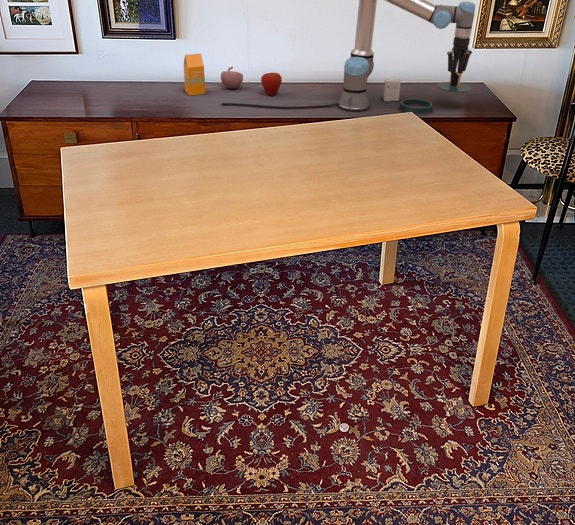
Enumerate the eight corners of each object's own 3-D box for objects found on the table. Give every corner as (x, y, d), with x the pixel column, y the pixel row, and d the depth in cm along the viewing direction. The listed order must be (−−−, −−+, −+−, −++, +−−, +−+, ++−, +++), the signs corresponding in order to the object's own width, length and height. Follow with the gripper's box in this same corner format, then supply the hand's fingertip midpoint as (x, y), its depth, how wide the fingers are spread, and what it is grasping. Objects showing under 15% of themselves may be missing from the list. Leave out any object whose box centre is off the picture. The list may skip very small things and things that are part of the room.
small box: (398, 98, 335) (400, 78, 330) (398, 102, 331) (401, 81, 325) (383, 98, 336) (384, 78, 331) (383, 101, 331) (385, 81, 326)
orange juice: (205, 93, 337) (203, 55, 327) (189, 95, 334) (187, 56, 324) (200, 89, 343) (198, 51, 333) (185, 91, 340) (182, 53, 330)
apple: (269, 90, 344) (269, 68, 338) (285, 94, 339) (286, 71, 333) (257, 95, 336) (256, 72, 330) (273, 99, 331) (273, 75, 325)
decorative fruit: (244, 85, 351) (244, 64, 345) (241, 92, 341) (240, 70, 335) (223, 84, 352) (222, 63, 346) (219, 91, 342) (218, 69, 336)
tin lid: (449, 94, 308) (452, 77, 304) (430, 85, 321) (432, 69, 317) (477, 92, 314) (480, 75, 309) (457, 82, 327) (460, 66, 322)
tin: (410, 115, 312) (411, 109, 310) (394, 106, 324) (394, 100, 322) (437, 112, 317) (438, 106, 315) (420, 103, 329) (421, 97, 328)
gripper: (454, 39, 299) (446, 89, 311) (479, 37, 304) (470, 86, 316) (445, 36, 305) (437, 84, 317) (469, 34, 310) (461, 82, 322)
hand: (454, 85), depth 317 cm, fingers closed on tin lid
